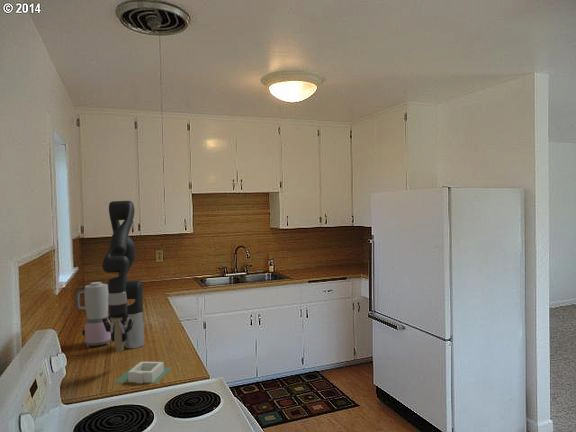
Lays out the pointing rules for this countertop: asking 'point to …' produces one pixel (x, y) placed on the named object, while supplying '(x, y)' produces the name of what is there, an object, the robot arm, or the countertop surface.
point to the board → (125, 379)
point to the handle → (117, 334)
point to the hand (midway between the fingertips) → (119, 340)
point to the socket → (146, 372)
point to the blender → (95, 313)
